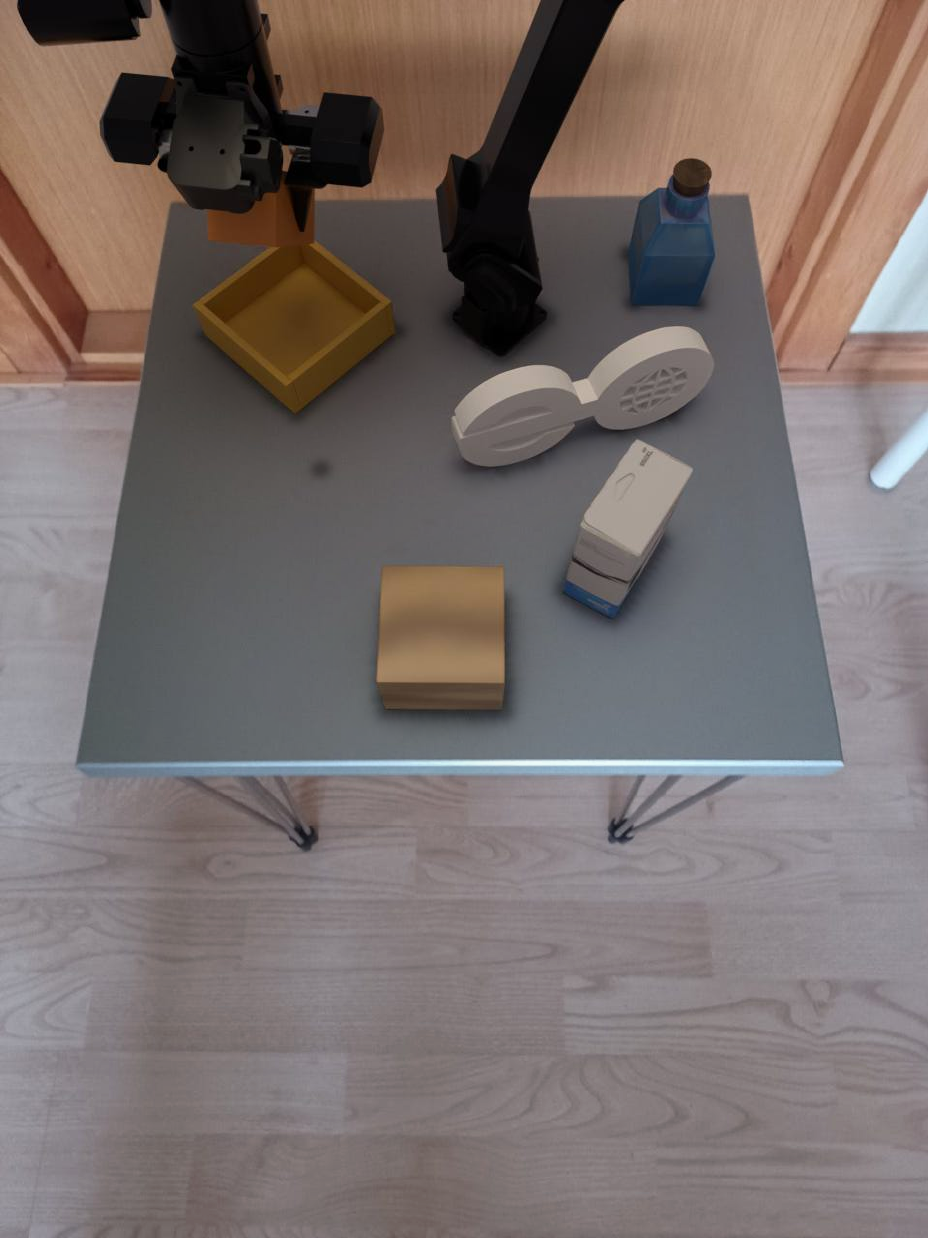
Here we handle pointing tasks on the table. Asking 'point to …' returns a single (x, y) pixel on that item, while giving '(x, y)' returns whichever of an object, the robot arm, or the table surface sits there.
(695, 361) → the white double disc
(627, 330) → the table surface
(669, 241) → the perfume bottle
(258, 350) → the tray
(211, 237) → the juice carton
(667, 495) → the ink box
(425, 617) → the riser block
